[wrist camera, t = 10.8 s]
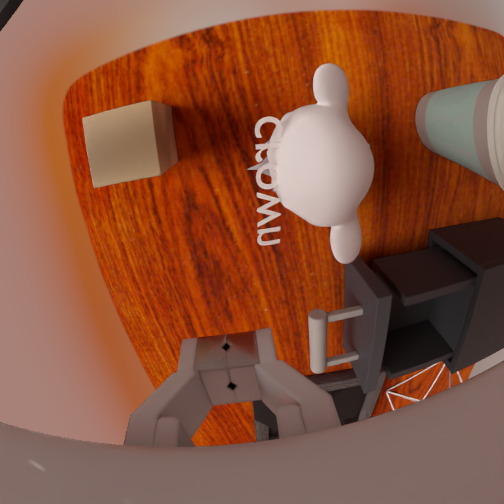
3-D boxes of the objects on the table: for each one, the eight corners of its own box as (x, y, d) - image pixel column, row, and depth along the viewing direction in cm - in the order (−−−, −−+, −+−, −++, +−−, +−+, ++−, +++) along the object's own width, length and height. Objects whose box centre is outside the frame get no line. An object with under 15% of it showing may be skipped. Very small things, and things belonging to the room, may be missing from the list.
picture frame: (251, 382, 31) (257, 459, 40) (252, 395, 30) (258, 469, 38) (383, 362, 32) (352, 444, 41) (389, 373, 30) (355, 453, 39)
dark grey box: (414, 324, 30) (451, 374, 22) (428, 229, 25) (485, 270, 17) (481, 300, 30) (520, 338, 22) (499, 217, 25) (550, 246, 17)
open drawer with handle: (301, 354, 29) (316, 406, 23) (295, 263, 25) (316, 311, 18) (426, 322, 29) (456, 360, 23) (440, 237, 25) (484, 269, 18)
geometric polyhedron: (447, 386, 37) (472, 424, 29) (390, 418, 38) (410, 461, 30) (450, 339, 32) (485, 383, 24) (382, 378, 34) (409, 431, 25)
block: (116, 117, 19) (82, 117, 14) (171, 105, 20) (151, 99, 14) (124, 171, 21) (93, 188, 16) (178, 162, 21) (161, 175, 16)
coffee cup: (446, 185, 23) (540, 231, 13) (386, 131, 21) (492, 151, 10) (479, 117, 21) (573, 137, 10) (424, 58, 18) (527, 45, 8)
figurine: (329, 79, 21) (211, 88, 18) (409, 67, 14) (266, 57, 11) (345, 214, 26) (242, 248, 23) (417, 243, 19) (300, 298, 16)
